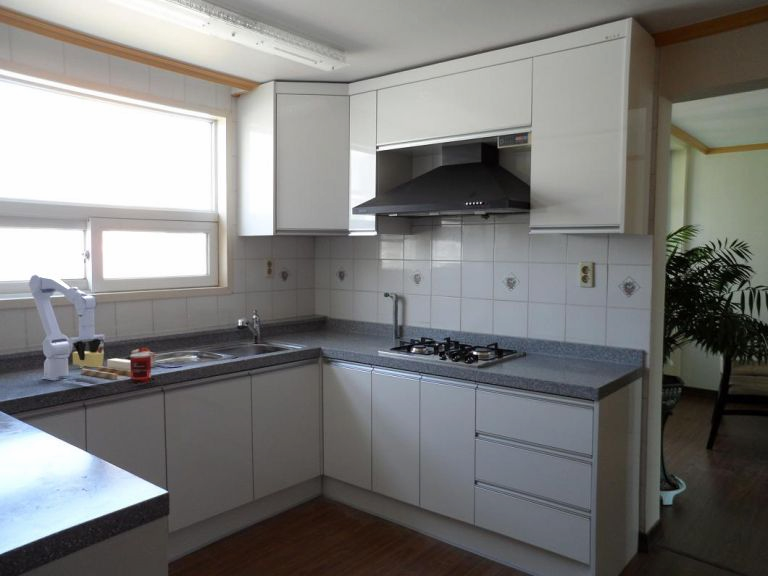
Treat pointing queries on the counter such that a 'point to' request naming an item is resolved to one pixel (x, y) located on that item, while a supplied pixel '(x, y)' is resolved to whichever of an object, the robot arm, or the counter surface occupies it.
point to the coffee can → (99, 350)
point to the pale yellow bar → (88, 359)
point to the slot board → (107, 372)
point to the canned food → (140, 367)
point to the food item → (146, 350)
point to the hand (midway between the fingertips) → (87, 359)
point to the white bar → (119, 364)
